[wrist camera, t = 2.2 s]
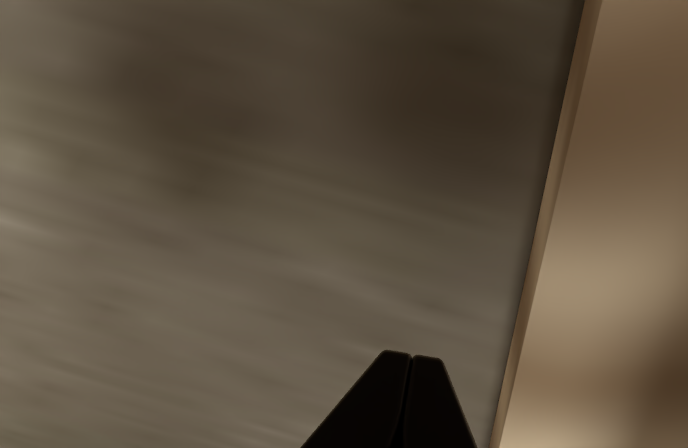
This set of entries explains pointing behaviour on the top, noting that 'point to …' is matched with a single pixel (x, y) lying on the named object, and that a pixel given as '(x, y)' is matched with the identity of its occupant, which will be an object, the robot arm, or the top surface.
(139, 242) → the top surface
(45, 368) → the top surface
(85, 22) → the top surface
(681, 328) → the wooden base tray
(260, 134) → the top surface
